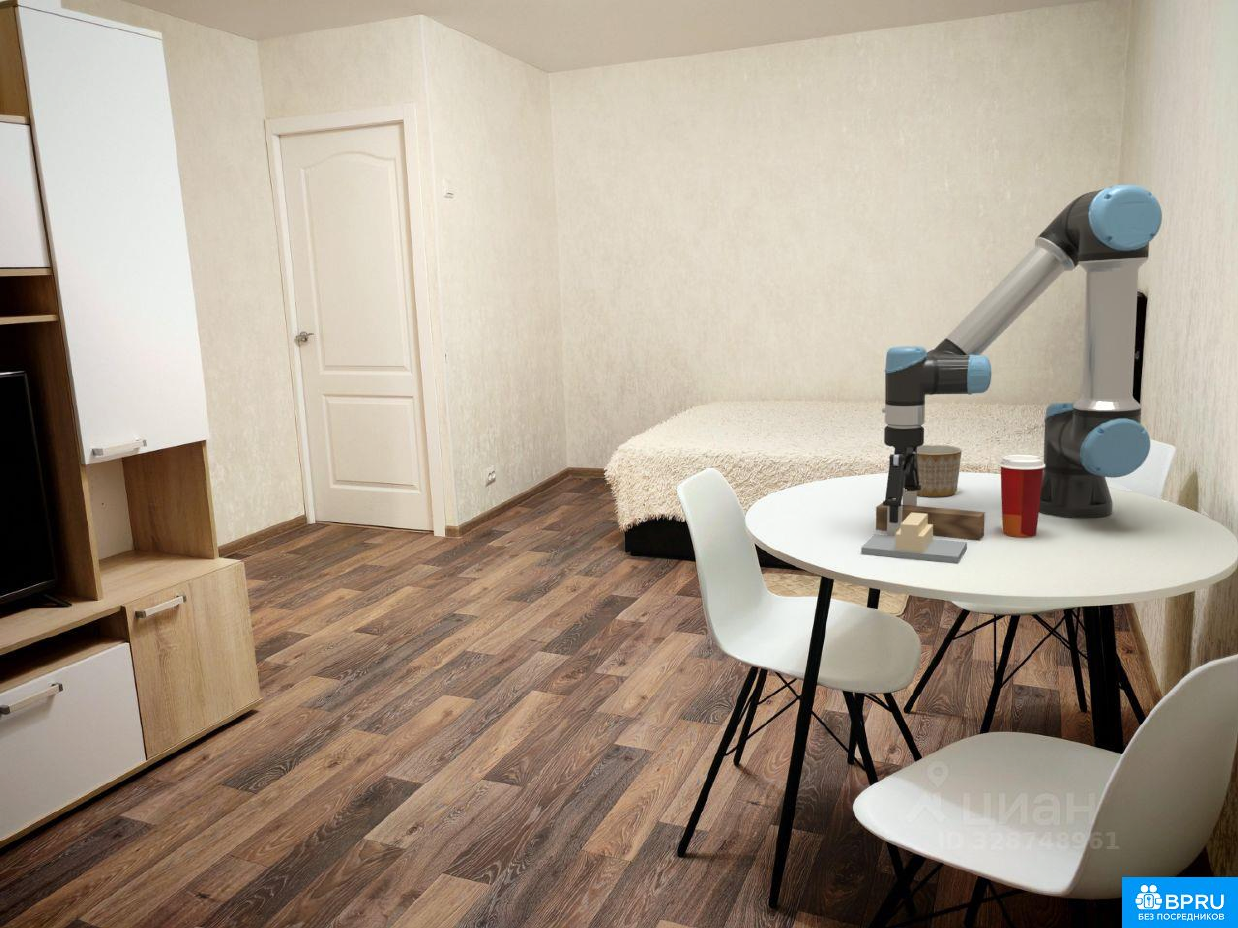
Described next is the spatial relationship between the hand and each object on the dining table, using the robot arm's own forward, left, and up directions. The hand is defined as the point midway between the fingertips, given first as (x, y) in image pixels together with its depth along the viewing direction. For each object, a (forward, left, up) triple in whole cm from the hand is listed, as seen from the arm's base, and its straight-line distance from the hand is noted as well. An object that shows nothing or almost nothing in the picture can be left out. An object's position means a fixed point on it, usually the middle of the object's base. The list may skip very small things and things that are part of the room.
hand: (902, 529), depth 182 cm
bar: (-5, 0, 0) cm, 5 cm away
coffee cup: (-21, -5, 0) cm, 22 cm away
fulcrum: (-5, +14, 0) cm, 15 cm away
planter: (+1, -36, 0) cm, 36 cm away
